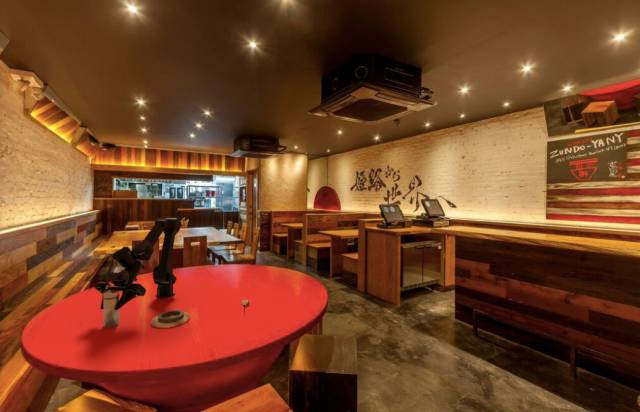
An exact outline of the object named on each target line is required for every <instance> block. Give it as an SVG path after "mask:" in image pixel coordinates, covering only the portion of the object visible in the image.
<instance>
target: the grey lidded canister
mask: <svg viewBox="0 0 640 412" xmlns="http://www.w3.org/2000/svg"><path fill="white" fill-rule="evenodd" d="M102 295H103V328H105V329H108V328H110V329H111V328H115V327H116V326H119V325H120V309H118V310H115V307H116V305H117V303H118V302H119V300H120V297H121V296H120V291H119V290H109V291H106V292H104V293H103V294H102Z"/></svg>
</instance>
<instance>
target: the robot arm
mask: <svg viewBox="0 0 640 412" xmlns="http://www.w3.org/2000/svg"><path fill="white" fill-rule="evenodd" d="M181 226H182V221H181V220H180V218H178V217H165V218H164V219H156V220H155V221H154V224H153V226H152V227H151V228H150V230H149V231H148V232H147V234H146V236H145V237H144V239H143V240H142V241H141V242H139V243H137V244H136V245H135V246H134V247H133V248H132V249H131V248H130V247H129V246H123V247H122V248H120V249H118V250H116V251H115V252H114V253H113V254H112V260H114V261H115V262H116V264H118V265H119V266H120V267H122V268H123V270H122V271H119V272H115V271H113V272H111V271H110V272H109V271H108V272H107V273H106V276H105V280H104V281H99V282H96V284H95V285H94V287H93V288H94V289H95V290H96V291H97V292H99V293H100V294H102V298H101V302H100V310H101V311H102V310H103V311H104V309H103V293H104V292H106V291H109V290H119V292H121V296H120V297H119V302H118V303H117V305H116V307H115V310H118V309H119V310H121V308H122V307H123V306H124V305H126V304H127V303H129V302H130V301H132V300H133V299H136V298H137V297H145V295H146V293H147V290H146V289H147V288H146V287H145V286H143V285H142V284H141V283H135V282H137V281H138V275H139V273H140V271H141V270H145V269H146V266H145V263H144V262H145V261H146V262H147V261H149V260H150V259H151V258H152V256H153V253H154V246H155V244H156V243H157V242H158V240H159V239H160V237H161V235H162V234H163V242H162V246H161V252H160V258H159V263H158V265H156V266H154V267H153V271H152V280H153V283H154V285H157V287H156V294H155V296H156V297H159V298H161V299H164V298H168V297H172V296H175V295H176V293H174V285H175V284H176V282H177V277H176V276H175V274H174V268H173V267H172V266H173V265H172V264H171V263H172V259H173V258H172V256H173V250H174V246H175V238H176V236H177V234H178V233H179V232H180V230H181ZM143 261H144V262H143ZM105 281H106V282H105ZM107 281H110V283H111V284H112V285H111V284H110V283H109V282H107Z"/></svg>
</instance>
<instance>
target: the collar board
mask: <svg viewBox="0 0 640 412" xmlns="http://www.w3.org/2000/svg"><path fill="white" fill-rule="evenodd" d="M190 319H191V314H190V313H188V312H187V311H186V312H185V311H183V310H181V309H172V310H167V311H164V312H161V313H159V314H158V315H157V316H155V317H153V318H152V319H151V324H150V325H151V326H152V327H153V328H157V329H169V328H170V327H171V328H174V327H178V326H181V325H184V324H186V323H187V322H189V321H190ZM185 322H186V323H185Z"/></svg>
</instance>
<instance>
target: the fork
mask: <svg viewBox="0 0 640 412" xmlns="http://www.w3.org/2000/svg"><path fill="white" fill-rule="evenodd" d="M241 303H242V305H245V306H246V305H247V304H249V299H243V300H242V301H241Z"/></svg>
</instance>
